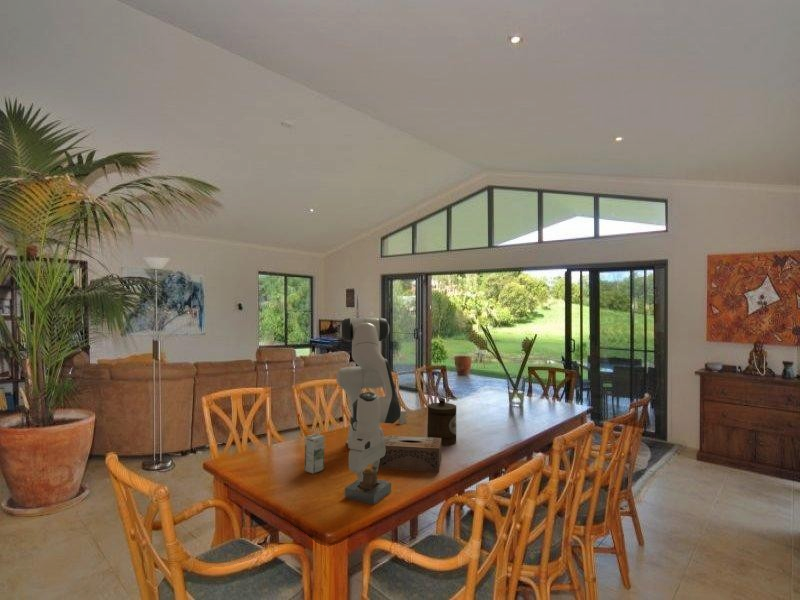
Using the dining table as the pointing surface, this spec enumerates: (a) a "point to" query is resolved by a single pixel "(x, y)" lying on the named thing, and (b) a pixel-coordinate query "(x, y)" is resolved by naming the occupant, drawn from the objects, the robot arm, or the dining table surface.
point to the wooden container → (442, 422)
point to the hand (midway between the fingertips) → (368, 476)
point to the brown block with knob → (369, 479)
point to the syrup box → (314, 453)
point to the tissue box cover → (411, 453)
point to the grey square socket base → (368, 492)
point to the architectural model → (402, 418)
